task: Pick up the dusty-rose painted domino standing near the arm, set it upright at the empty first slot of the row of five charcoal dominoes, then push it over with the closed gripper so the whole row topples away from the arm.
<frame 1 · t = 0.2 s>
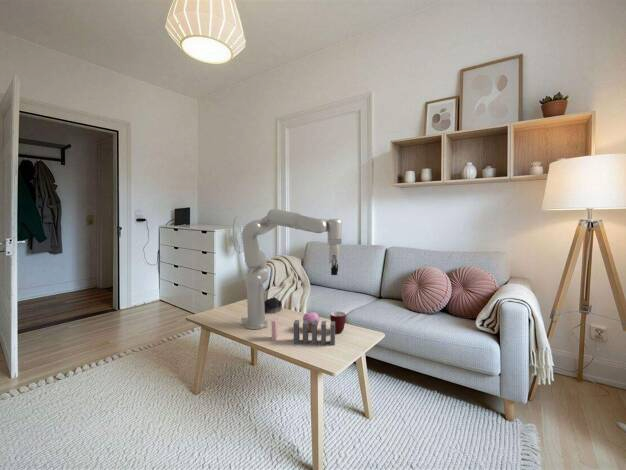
hand: (334, 273, 166), 31 cm above the table, fingers open, 9 cm apart
domino 1: (296, 341, 152), on the table
domino 2: (305, 341, 151), on the table
crystal cluster: (271, 311, 200), on the table
rose domino: (275, 338, 155), on the table
domino 4: (323, 342, 150), on the table
domino 3: (314, 342, 151), on the table
cupcake: (311, 330, 166), on the table
mug: (339, 331, 164), on the table
domino 5: (332, 343, 150), on the table
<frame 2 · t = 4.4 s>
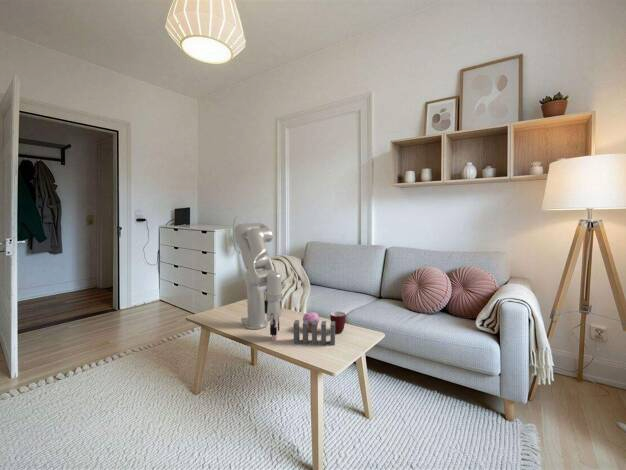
hand: (274, 332, 155), 3 cm above the table, fingers closed on rose domino, 4 cm apart
rose domino: (275, 338, 155), on the table, touching gripper
when the fingers open (4 cm above the table, at t = 9.5 s): rose domino stays where it is, on the table.
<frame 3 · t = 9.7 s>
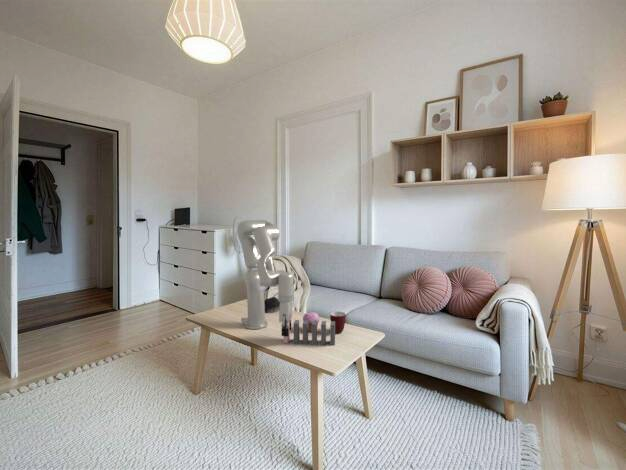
hand: (286, 332, 152), 4 cm above the table, fingers open, 7 cm apart
rose domino: (286, 341, 153), on the table
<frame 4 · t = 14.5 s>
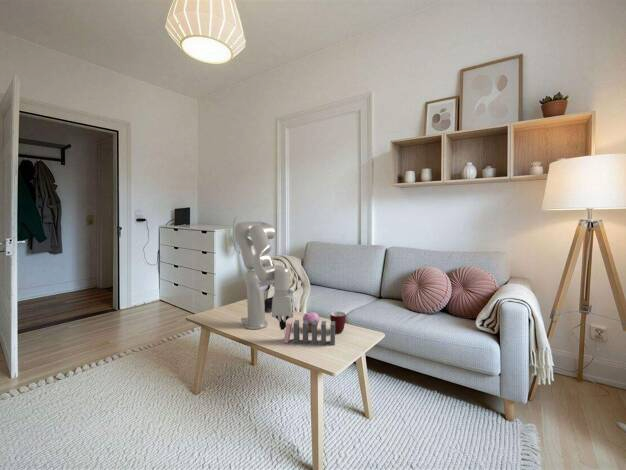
hand: (282, 328, 152), 6 cm above the table, fingers closed
rose domino: (286, 340, 153), on the table, tilted 9°, touching gripper
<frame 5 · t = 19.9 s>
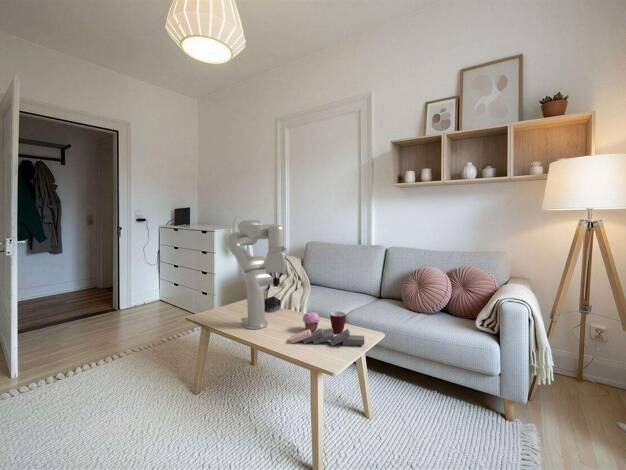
hand: (276, 285, 154), 27 cm above the table, fingers closed
domino 1: (304, 339, 152), point 1 cm above the table, tilted 66°, touching domino 2, rose domino
domino 2: (313, 340, 151), point 1 cm above the table, tilted 74°, touching domino 1, domino 3
rose domino: (291, 339, 152), point 1 cm above the table, tilted 69°, touching domino 1
domino 4: (343, 338, 149), point 2 cm above the table, tilted 90°, touching domino 3, domino 5
domino 3: (331, 342, 149), point 1 cm above the table, tilted 57°, touching domino 2, domino 4
domino 5: (342, 342, 149), on the table, tilted 90°, touching domino 4
at the end: domino 5 tilted 90°; rose domino tilted 69°; rose domino inside the target area (1.1 cm from its centre), point 0.9 cm above the table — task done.
